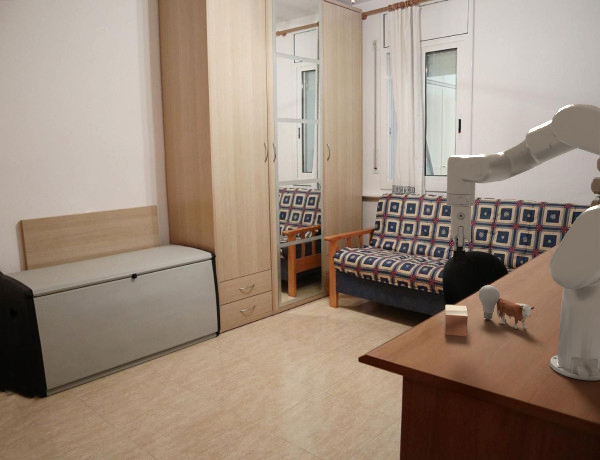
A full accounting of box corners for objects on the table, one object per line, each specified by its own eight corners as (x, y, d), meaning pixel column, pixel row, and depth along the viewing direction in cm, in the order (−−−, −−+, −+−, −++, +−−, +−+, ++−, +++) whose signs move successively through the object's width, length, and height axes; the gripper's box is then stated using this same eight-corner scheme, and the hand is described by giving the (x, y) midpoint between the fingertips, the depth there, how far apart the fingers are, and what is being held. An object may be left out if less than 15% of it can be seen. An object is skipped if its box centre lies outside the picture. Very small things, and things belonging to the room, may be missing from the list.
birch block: (467, 316, 144) (466, 306, 152) (445, 314, 145) (445, 304, 154) (466, 336, 145) (465, 325, 153) (444, 334, 146) (444, 323, 155)
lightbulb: (486, 324, 153) (487, 289, 151) (473, 317, 159) (474, 283, 157) (502, 321, 155) (504, 287, 153) (489, 315, 161) (491, 281, 159)
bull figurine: (525, 335, 145) (527, 307, 143) (492, 320, 157) (493, 294, 156) (537, 333, 146) (539, 305, 145) (503, 318, 159) (505, 292, 157)
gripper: (476, 203, 133) (474, 270, 137) (473, 196, 148) (471, 258, 151) (447, 202, 135) (445, 269, 138) (446, 196, 150) (445, 257, 153)
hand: (459, 263), depth 145 cm, fingers closed
